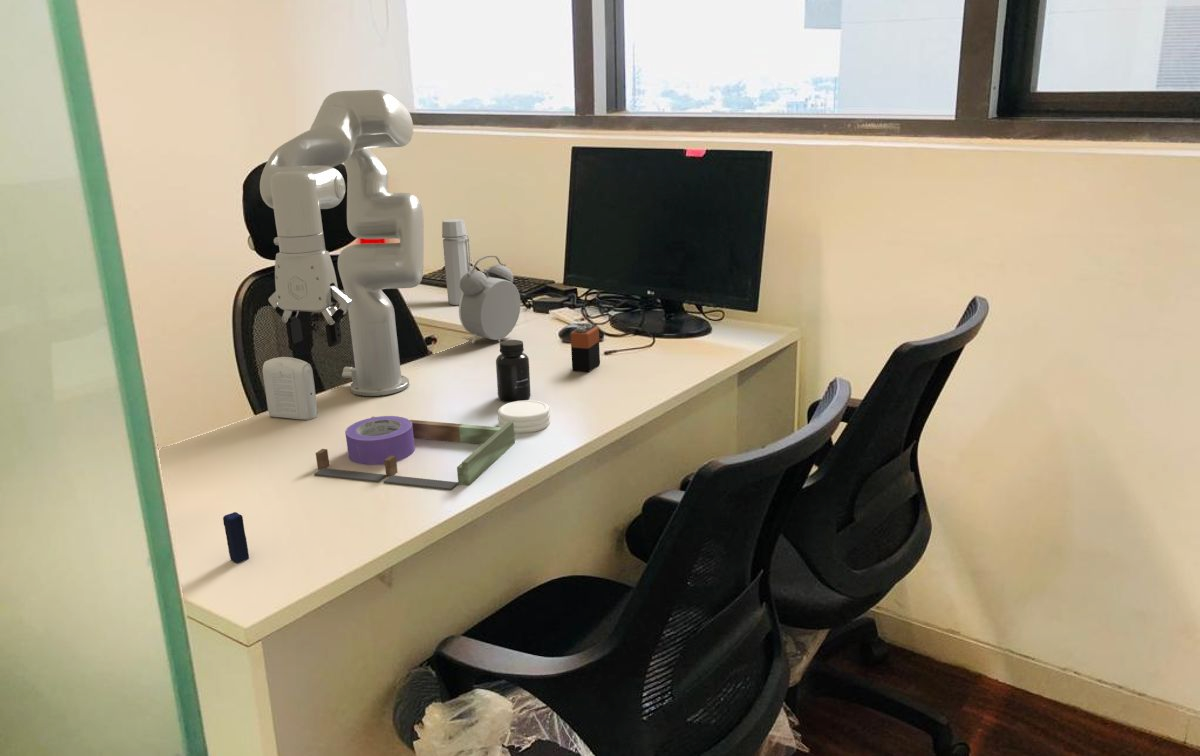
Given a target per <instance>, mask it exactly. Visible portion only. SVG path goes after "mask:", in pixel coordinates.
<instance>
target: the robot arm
mask: <svg viewBox="0 0 1200 756" xmlns="http://www.w3.org/2000/svg"><path fill="white" fill-rule="evenodd" d="M413 134H414V123H413V119H412V115H411V114H410V111H409V110H408V108H406V106H405V105H404V104H403V103H402V102H400V101H399V100H398V99H397V98H396V97H395V96H393V95H392V94H391V93H389V92H386V91H385V90H384V91H383V90H380V89H362V90H359V89H358V90H342V91H341V90H340V91H335V92H332V93H329V95H327V96H326V97H325V98H324V100H323V102H322V104H321V106H320V108H319V110H318V111H317V114H316V116H315V118H314V120H313V122H312V124H311V126H310V128H309V129H308V130H307V131H304V132H302V133H301V134H299V135H297V136H295V137H294V138H292V139H290V140H288V141H287V142H284V143H283V144H282V145H280V146H278V147H277V148H276V149H275V150H274V151H273V152H272V153H271V154H270V156H269V158H268V160H267V161H266V164H265V166H264V168H263V169H262V173H261V176H260V181H259V191H260V196H261V198H262V201H263V202H264V203H265V205H267V207H269V208H271V209H272V210H273V213H274V220H275V221H274V222H275V227H276V233H277V237H274V238H273V244H274V245H275V246H278V247H279V252H277V253H276V254H275V261H274V284H275V291H274V292H273V293H272V294H271V295H270V296H269V297H268V299H267V300H268V302H269V304H270V305H271V306H272V308H273V309H274V311H275V313H277V314H278V315H279V317H280V318H281V321H282V323H285V325H286V326H285V327H286V333H287V338H288V344H289V345H290V346H291V345H292V346H293V345H296V344H297V343H300V342H302V341H303V340H304V337H303V330H302V329H303V328H302V323H301V320H300V318H298V315H299V312H305V313H306V312H308V313H309V312H310V313H322V316H323V317H324V318H325V320H326V322H327V324H325V334H326V340H327V346H328V347H329V348H333V347H335V346H337V345H339V344H341V343H342V330H341V322H342V321H343V318H344V317H345V316H346V315H347V313H348V319H349V327H350V329H349V330H350V335H351V336H350V337H351V343H352V344H351V345H352V352H353V360H354V367H353V366H344V368H343V370H342V373H341V377H342V378H343V379H344V378H345V379H351V380H352V383H350V392H351V393H352V394H354V395H357V396H361V395H362V397H378V396H379V397H380V395H381V396H388V395H391V394H396V393H399V392H401V391H405V390H406V389H407V388H408V387H409V385H410V380H409V378H408V377H407V376H405V375H402V371H401V370H402V369H401V362H400V353H399V352H400V351H399V343H398V336H397V333H398V332H397V326H396V314H395V308H394V305H393V302H392V301H391V300H390V299H389V297H388V296H387V295H386V294H385V293H384V291H383V290H390V289H393V290H395V289H398V290H399V289H411V288H416V287H418V286H419V285H420V284H421V282H422V279H423V276H424V255H425V254H424V252H425V251H424V249H425V248H424V245H425V244H424V243H425V242H424V241H425V240H424V235H425V233H424V232H425V231H424V228H425V225H424V222H425V221H424V211H423V207H422V204H421V201H420V200H419V198H418V197H417V196H416V195H414V194H412V193H409V192H389V171H388V170H387V168H386V167H385V165H384V164H383V162H382V161H381V160H380V158H378V157H377V156H376V155H375V153H373V152H372V151H371V150H370V149H381V148H383V149H385V148H401V147H405V146H407V145H408V144H409V143H410V142H411V141H412V138H413V136H414V135H413ZM341 164H343V165H344V167H345V171H346V175H347V176H346V177H347V183H346V182H345V179H344V177H343V174H342V173H341V172H340V171H339V170H338V169H336V168H335V167H337V166H340V165H341ZM346 187H347V189H346ZM346 193H347V194H346ZM345 194H346V225H347V229H348V231H349V233H350V235H352V236H353V237H354V238H357V239H361V240H362V239H363V240H384V239H385V240H387V239H388V240H390V239H398V240H399V242H387V243H381V242H377V243H373V242H372V243H371V242H370V243H358V244H357V243H356V244H352V245H349V246H347V247H345V248H343V249H342V250H341V251H340V253H339V255H338V257H337V270H338V273H339V277H340V280H341V283H342V286H343V290H344V293H343V292H342V291H341V290H340V289H339V287H338V281H337V276H336V271H335V267H334V264H333V260H332V258H331V255H330V253H329V252H330V251H329V250H327V249H326V243H325V236H324V235H325V234H324V230H323V222H322V214H321V210H328V209H333V208H335V207H338V205H340V203H341V202H342V201H343V199H344V198H345ZM338 305H339V306H338ZM337 306H338V307H337Z"/></svg>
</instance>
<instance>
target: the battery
mask: <svg viewBox="0 0 1200 756" xmlns="http://www.w3.org/2000/svg"><path fill="white" fill-rule="evenodd" d="M570 346H571V347H570V349H571V367H572V368H571V369H572V371H573V372H580V371H581V373H582V372H583V373H590V372H591V371H592V370H594V369H595V368H596V367H598V366H600V363H601V356H600V355H601V354H600V352H601V351H600V329H599V327H598V326H594V325H593V326H592V323H590V322H589V323H588V322H587V323H584V325H579V326H577V327H576V329H574V330H573V331H571V332H570Z"/></svg>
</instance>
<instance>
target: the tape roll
mask: <svg viewBox="0 0 1200 756" xmlns="http://www.w3.org/2000/svg"><path fill="white" fill-rule="evenodd" d="M372 417H373V418H371V417H369V418H368V417H367V418H364V419H362V420H359V421H356V422H354V423H352V424H351V425H348V427H346V430H345V431H344V432H345V441H346V447H347V453H348V454H347V455H348V459H349V460H350V461H351V462H352V463H354V464H358V465H362V466H363V465H364V466H380V465H385V461H384V460H385V459H386V458H388V457H389V456H390V455H391V456H396V462H399V461H402V460H404V459H407V458H409V457H410V456H411V455H413V454H414V452H415V451H416V446H415V438H414V436H413V427H412V422H411V421H410V420H411V419H408V418H406V417H402V416H398V415H381V416H372Z"/></svg>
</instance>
